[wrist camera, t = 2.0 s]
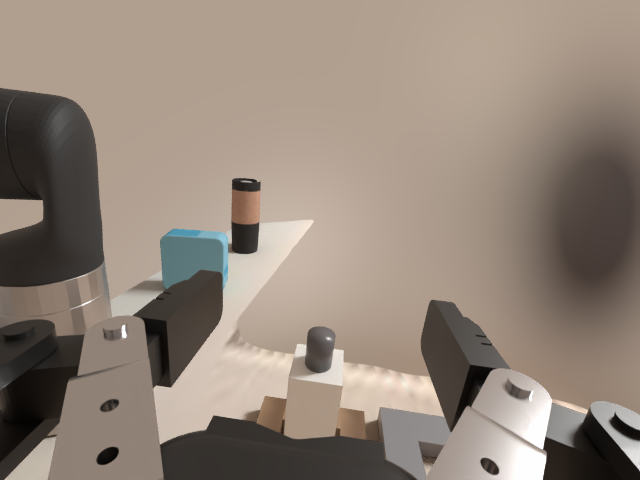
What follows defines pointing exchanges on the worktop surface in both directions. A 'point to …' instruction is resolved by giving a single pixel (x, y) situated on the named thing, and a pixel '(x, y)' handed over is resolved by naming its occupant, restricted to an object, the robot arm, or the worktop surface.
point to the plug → (314, 387)
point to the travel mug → (245, 215)
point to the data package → (192, 254)
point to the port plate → (411, 438)
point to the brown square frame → (275, 412)
